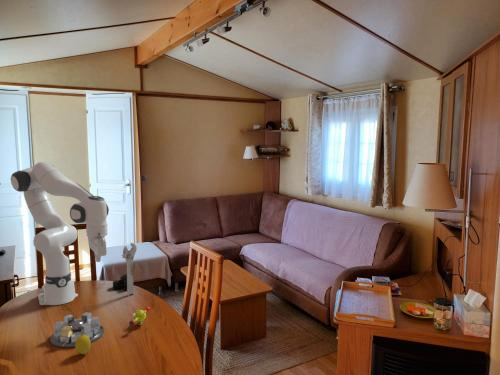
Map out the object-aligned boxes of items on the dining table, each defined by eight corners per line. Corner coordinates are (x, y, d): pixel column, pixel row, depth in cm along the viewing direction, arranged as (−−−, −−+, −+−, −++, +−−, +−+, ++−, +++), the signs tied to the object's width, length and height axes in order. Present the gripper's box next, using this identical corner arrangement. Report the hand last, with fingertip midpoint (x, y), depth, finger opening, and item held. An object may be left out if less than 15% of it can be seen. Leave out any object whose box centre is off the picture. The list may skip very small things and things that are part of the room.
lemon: (78, 351, 155) (77, 331, 154) (92, 350, 156) (92, 331, 155) (73, 358, 150) (72, 338, 149) (88, 357, 150) (87, 337, 149)
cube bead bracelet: (71, 322, 178) (70, 310, 178) (107, 325, 176) (107, 313, 175) (44, 341, 161) (43, 328, 160) (85, 344, 158) (84, 331, 157)
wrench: (124, 299, 209) (122, 244, 206) (122, 299, 210) (120, 244, 208) (138, 296, 214) (136, 242, 212) (136, 295, 216) (134, 241, 213)
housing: (43, 335, 169) (43, 321, 168) (92, 320, 183) (92, 308, 182) (60, 353, 153) (59, 338, 153) (111, 336, 168) (111, 322, 167)
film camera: (112, 287, 229) (112, 272, 228) (130, 285, 232) (129, 270, 231) (113, 296, 215) (113, 280, 214) (131, 294, 218) (131, 278, 217)
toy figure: (143, 316, 188) (142, 302, 188) (154, 317, 187) (153, 303, 187) (124, 333, 171) (124, 318, 170) (136, 334, 170) (135, 319, 169)
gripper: (109, 235, 172) (110, 265, 173) (99, 227, 189) (100, 255, 190) (94, 236, 169) (95, 268, 170) (85, 228, 186) (86, 257, 187)
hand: (97, 261), depth 180 cm, fingers closed
